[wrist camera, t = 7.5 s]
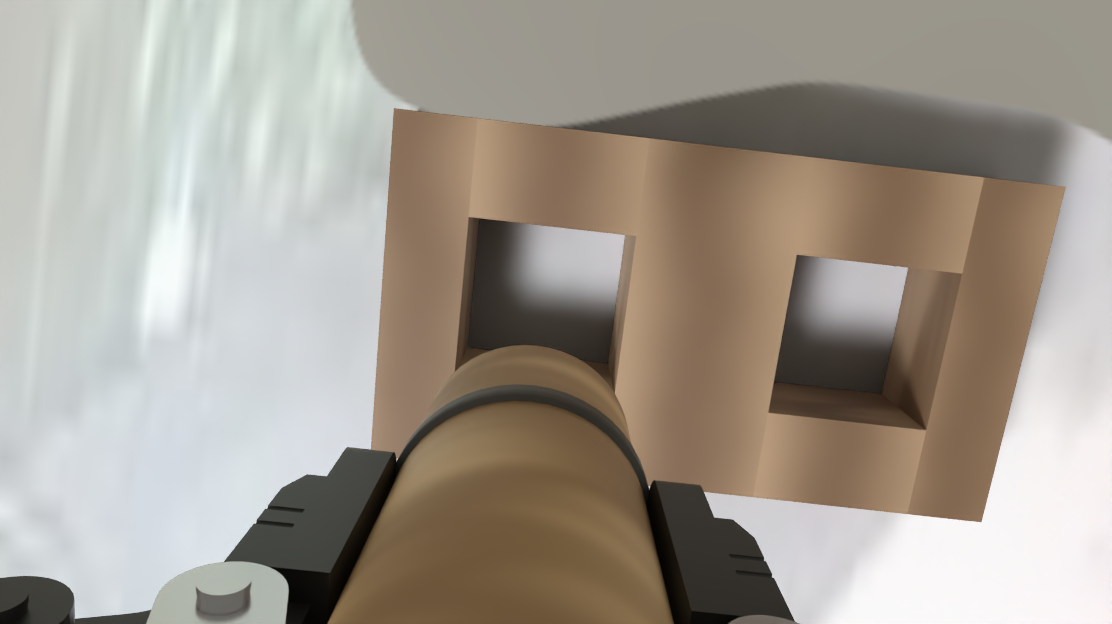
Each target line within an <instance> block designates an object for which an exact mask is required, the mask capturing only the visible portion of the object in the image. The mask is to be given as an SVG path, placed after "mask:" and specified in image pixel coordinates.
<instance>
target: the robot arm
mask: <svg viewBox="0 0 1112 624" xmlns="http://www.w3.org/2000/svg"><path fill="white" fill-rule="evenodd" d="M395 473H396V454H395V452H388V451H378V450H369V449H360V448H350V447H347V448H346V449H345V450H344V452H343V453H342V455H341V456H340V458H339V459H338V461H337V462H336V464H335V465H334V467H333V468H332V470H331V471H330V473H329V474H328V476H327V477H326V476H317V475H305V476H304V477H302V478H300V479H298V480H296V481H294V482H292V483H290V484H288V485H287V486H285V487H283V488H281V490H280V491H279V492H278V494H277V495H276V496H275V497H274V499H273V500H272V501H271V502H270V504H269V505H268V509H265V510H264V511H263V513H262V514H261V515H260V517H259V518H258V519H257V523H256V524H253V526H252V527H251V528H250V529H249V531H248V532H247V533H246V534H245V536H244V537H243V538H242V540H241V541H240V542H239V543H238V545H237V546H236V547H235V549H234V550H233V551H232V552H231V554H230V555H229V556H228V557H227V559H226V560H225V561H224V562H220V563H213V564H208V565H204V566H200V567H197V568H194V569H191V570H189V571H186V572H184V573H182V574H180V575H178V576H177V577H175V578H173V579H172V580H170V581H169V582H168V583H167V584H165V585H164V587H163V588H162V589H161V590H160V591H159V593H158V595H157V597H156V599H155V602H154V604H153V607H152V610H149V611H144V612H139V613H131V614H122V615H111V616H101V617H90V618H80V619H75V609H74V596H73V593H72V591H71V590H70V588H69V587H67V586H66V585H65V584H63V583H61V582H59V581H57V580H53V579H49V578H44V577H35V576H17V577H7V578H0V624H327V623H328V621H329V619H330V617H331V615H332V613H333V611H334V608H335V606H336V604H337V602H338V600H339V598H340V596H341V594H342V592H343V589H344V587H345V585H346V583H347V581H348V579H349V577H350V575H351V573H352V570H353V568H354V566H355V564H356V562H357V560H358V558H359V556H360V554H361V551H362V549H363V547H364V545H365V543H366V541H367V539H368V537H369V535H370V532H371V530H372V528H373V526H374V524H375V522H376V520H377V518H378V516H379V513H380V511H381V509H382V507H383V505H384V503H385V501H386V499H387V497H388V494H389V492H390V490H391V488H392V486H393V484H394V482H395ZM647 511H648V515H649V520H650V524H651V528H652V532H653V536H654V541H655V545H656V549H657V553H658V558H659V562H660V566H661V570H662V575H663V579H664V583H665V587H666V592H667V596H668V600H669V604H670V608H671V613H672V617H673V621H674V624H799V623H796V622H795V621H794V619H793V617H792V615H791V613H790V610H789V608H788V606H787V604H786V602H785V600H784V598H783V596H782V594H781V592H780V590H779V588H778V586H777V584H776V581H775V579H774V578H772V573H771V571H770V569H769V567H768V565H767V563H766V561H764V557H763V555H762V552H761V550H760V548H759V546H758V544H757V542H756V540H755V538H754V537H753V536H752V535H750V534H749V533H748V532H747V531H746V530H744V529H743V528H742V527H741V526H740V525H739V524H737V523H736V522H735V521H734V520H731V519H721V518H714V516H713V514H712V511H711V509H710V506H709V504H708V501H707V499H706V497H705V494H704V492H703V489H702V487H701V486H700V485H695V484H686V483H677V482H667V481H658V480H653V481H652V483H651V486H650V490H649V497H648V504H647Z"/></svg>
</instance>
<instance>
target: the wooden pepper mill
mask: <svg viewBox="0 0 1112 624" xmlns="http://www.w3.org/2000/svg"><path fill="white" fill-rule="evenodd" d="M648 497H649V487H648V483H647V479H646V475H645V473H644V470H643V467H642V464H641V461H640V459H639V457H638V455H637V454H636V452H635V450H634V448H633V446H632V443H631V439H630V435H629V431H628V426H627V422H626V418H625V415H624V412H623V409H622V407H621V404H620V402H619V400H618V399H617V397H616V395H615V393H614V392H613V390H612V389H611V387H610V386H609V385H608V383H607V382H606V381H605V380H604V379H603V378H602V377H601V376H600V375H599V374H598V373H597V372H596V371H595V370H594V369H592V368H591V367H590V366H589V365H587V364H586V363H584V362H583V361H581V360H579V359H578V358H576V357H574V356H572V355H569V354H567V353H565V352H562V351H559V350H556V349H553V348H548V347H543V346H536V345H516V346H507V347H503V348H498V349H494V350H492V351H489V352H486V353H483V354H481V355H479V356H477V357H475V358H473V359H471V360H470V361H468V362H467V363H465V364H464V365H462V366H461V367H460V368H458V369H457V370H456V371H455V372H454V373H453V374H452V375H451V376H450V377H449V378H448V379H447V380H446V381H445V383H444V384H443V385H442V386H441V388H440V389H439V391H438V392H437V394H436V396H435V397H434V399H433V402H432V404H431V406H430V408H429V410H428V412H427V414H426V416H425V418H424V421H423V423H422V424H421V425H420V427H419V428H418V429H417V430H416V431H415V432H414V434H413V435H412V436H411V437H410V439H409V441H408V442H407V444H406V445H405V447H404V448H403V450H402V452H401V454H400V456H399V458H398V460H397V462H396V473H395V482H394V484H393V486H392V488H391V490H390V492H389V494H388V497H387V499H386V501H385V503H384V505H383V507H382V509H381V511H380V513H379V516H378V518H377V520H376V522H375V524H374V526H373V528H372V530H371V532H370V535H369V537H368V539H367V541H366V543H365V545H364V547H363V549H362V551H361V554H360V556H359V558H358V560H357V562H356V564H355V566H354V568H353V570H352V573H351V575H350V577H349V579H348V581H347V583H346V585H345V587H344V589H343V592H342V594H341V596H340V598H339V600H338V602H337V604H336V606H335V608H334V611H333V613H332V615H331V617H330V619H329V621H328V623H327V624H674V621H673V617H672V613H671V608H670V604H669V600H668V596H667V592H666V587H665V583H664V579H663V575H662V570H661V566H660V562H659V558H658V553H657V549H656V545H655V541H654V536H653V532H652V528H651V524H650V520H649V515H648V511H647V504H648Z"/></svg>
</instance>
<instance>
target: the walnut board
mask: <svg viewBox="0 0 1112 624" xmlns="http://www.w3.org/2000/svg"><path fill="white" fill-rule="evenodd" d="M1064 191H1065V187H1062V186H1053V185H1044V184H1036V183H1027V182H1019V181H1010V180H1002V179H993V178H985V177H976V176H968V175H959V174H950V173H942V172H933V171H925V170H916V169H908V168H899V167H891V166H882V165H874V164H865V163H857V162H848V161H839V160H831V159H822V158H814V157H805V156H797V155H788V154H780V153H771V152H763V151H754V150H745V149H737V148H728V147H720V146H711V145H703V144H694V143H686V142H677V141H669V140H660V139H652V138H643V137H634V136H626V135H617V134H609V133H600V132H592V131H583V130H575V129H566V128H558V127H549V126H541V125H532V124H523V123H515V122H506V121H498V120H489V119H480V118H472V117H463V116H455V115H447V114H438V113H429V112H421V111H412V110H404V109H395V108H394V116H393V131H392V146H391V161H390V176H389V191H388V205H387V220H386V235H385V250H384V265H383V279H382V294H381V309H380V324H379V339H378V354H377V368H376V383H375V398H374V413H373V428H372V442H371V450H378V451H388V452H395V454H396V458H399V456H400V454H401V452H402V450H403V448H404V447H405V445H406V444H407V442H408V441H409V439H410V437H411V436H412V435H413V434H414V432H415V431H416V430H417V429H418V428H419V427H420V425H421V424H422V423H423V421H424V418H425V416H426V414H427V412H428V410H429V408H430V406H431V404H432V402H433V399H434V397H435V396H436V394H437V392H438V391H439V389H440V388H441V386H442V385H443V384H444V383H445V381H446V380H447V379H448V378H449V377H450V376H451V375H452V374H453V373H454V372H455V371H456V370H457V369H458V368H460V367H461V366H462V365H464V364H465V363H467V362H468V361H470V360H471V359H473V358H475V357H477V356H479V355H481V354H483V353H486V352H489V351H492V350H484V349H475V348H468V338H469V327H470V316H471V305H472V295H473V284H474V273H475V262H476V252H477V241H478V230H479V219H480V218H482V219H491V220H500V221H508V222H517V223H526V224H535V225H543V226H552V227H561V228H569V229H578V230H587V231H596V232H604V233H613V234H622V235H625V241H624V248H623V255H622V263H621V270H620V278H619V285H618V293H617V300H616V308H615V315H614V323H613V330H612V338H611V345H610V353H609V360H608V363H600V362H591V361H583V362H584V363H586V364H587V365H589V366H590V367H591V368H592V369H594V370H595V371H596V372H597V373H598V374H599V375H600V376H601V377H602V378H603V379H604V380H605V381H606V382H607V383H608V385H609V386H610V387H611V389H612V390H613V392H614V393H615V395H616V397H617V399H618V400H619V402H620V404H621V407H622V409H623V412H624V415H625V418H626V422H627V426H628V431H629V435H630V439H631V443H632V446H633V448H634V450H635V452H636V454H637V455H638V457H639V459H640V461H641V464H642V467H643V470H644V473H645V475H646V479H647V483H648V486H651V483H652V481H653V480H658V481H667V482H677V483H686V484H695V485H700V486H701V487H702V489H703V492H711V493H720V494H729V495H738V496H747V497H757V498H766V499H775V500H784V501H793V502H802V503H811V504H820V505H830V506H839V507H848V508H857V509H866V510H875V511H884V512H894V513H903V514H912V515H921V516H930V517H939V518H948V519H958V520H967V521H976V522H981V521H982V517H983V513H984V509H985V505H986V501H987V497H988V494H989V490H990V486H991V482H992V478H993V474H994V470H995V466H996V462H997V458H998V454H999V450H1000V446H1001V442H1002V438H1003V434H1004V430H1005V426H1006V422H1007V418H1008V414H1009V410H1010V406H1011V402H1012V398H1013V394H1014V390H1015V386H1016V382H1017V378H1018V374H1019V370H1020V366H1021V362H1022V358H1023V354H1024V350H1025V346H1026V342H1027V338H1028V334H1029V331H1030V327H1031V323H1032V319H1033V315H1034V311H1035V307H1036V303H1037V299H1038V295H1039V291H1040V287H1041V283H1042V279H1043V275H1044V271H1045V267H1046V263H1047V259H1048V255H1049V251H1050V247H1051V243H1052V239H1053V235H1054V231H1055V227H1056V223H1057V219H1058V215H1059V211H1060V207H1061V203H1062V199H1063V195H1064ZM797 255H804V256H813V257H822V258H830V259H839V260H848V261H857V262H865V263H874V264H883V265H891V266H900V267H909V268H908V273H907V277H906V282H905V287H904V291H903V296H902V301H901V306H900V310H899V315H898V320H897V324H896V329H895V334H894V338H893V343H892V348H891V352H890V357H889V362H888V366H887V371H886V376H885V380H884V385H883V390H882V394H877V393H868V392H859V391H850V390H841V389H832V388H823V387H814V386H805V385H797V384H788V383H779V382H774V378H775V372H776V367H777V361H778V356H779V350H780V345H781V339H782V334H783V328H784V323H785V317H786V312H787V306H788V301H789V295H790V290H791V284H792V279H793V273H794V268H795V262H796V257H797ZM581 361H582V360H581Z"/></svg>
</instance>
